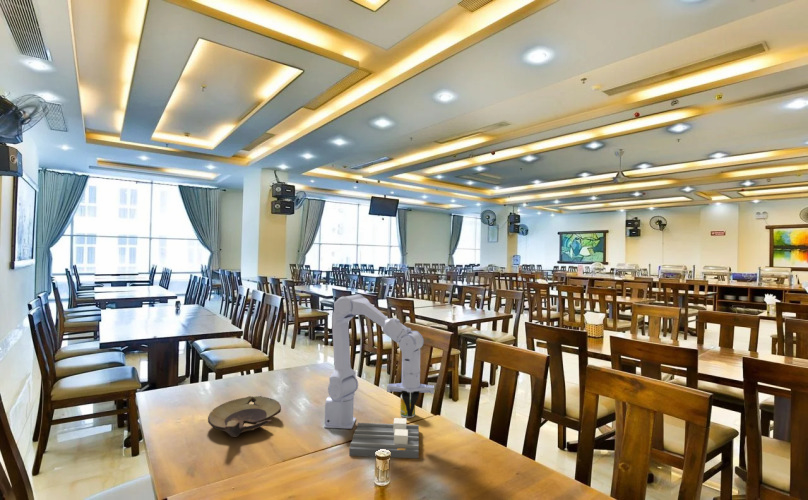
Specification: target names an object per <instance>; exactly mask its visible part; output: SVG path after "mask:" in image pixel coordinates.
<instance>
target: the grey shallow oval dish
mask: <svg viewBox="0 0 808 500" xmlns="http://www.w3.org/2000/svg"><path fill="white" fill-rule="evenodd" d="M251 402H252V403H251ZM281 406H282V405H281V404H280V402H279V401H277V399H273V398H271V397H270V398H269V397H265V396H262V395H257V396H251V395H250V396H246V397H241V398H237V399H233V400H229V401H226V402H223V403H222V404H220V405H218V406H216V407H214V408H213V409H212V411H210V413H209V415H208V416H207V423H208V424H209V426H211V427H212V428H214V429H216V430H218V431H221V432H222V431H223V432H226V433H227V434H228V435H229V436H231V437H232V438H236V437H238V436H240V434H242V433H245V432H249V431H252V430H255V429H258V428H260V427H263V426H265V425H266V424H267V425H268V423H270V422H272V419H271V418H273V417H274V416H277V415H278V414H279V413H281V411H282V407H281ZM244 423H251V424H252V425H244Z"/></svg>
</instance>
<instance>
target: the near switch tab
mask: <svg viewBox="0 0 808 500" xmlns="http://www.w3.org/2000/svg"><path fill="white" fill-rule="evenodd" d="M394 444H408V430H404V429H395V432H394Z"/></svg>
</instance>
